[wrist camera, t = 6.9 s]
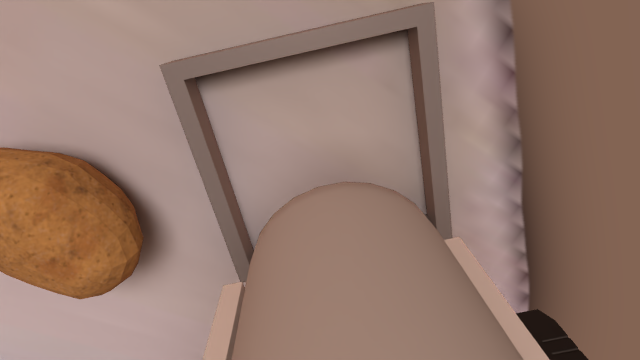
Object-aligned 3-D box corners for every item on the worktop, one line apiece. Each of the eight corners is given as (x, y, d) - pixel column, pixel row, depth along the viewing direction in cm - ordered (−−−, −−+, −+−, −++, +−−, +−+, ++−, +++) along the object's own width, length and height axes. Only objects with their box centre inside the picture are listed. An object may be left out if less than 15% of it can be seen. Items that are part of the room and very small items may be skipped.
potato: (7, 91, 27) (-104, 119, 19) (184, 192, 31) (148, 247, 23) (-36, 192, 30) (-146, 250, 22) (132, 273, 33) (85, 345, 26)
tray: (441, 223, 33) (452, 238, 31) (244, 264, 34) (240, 282, 31) (422, 3, 26) (434, 2, 23) (171, 61, 26) (159, 65, 24)
